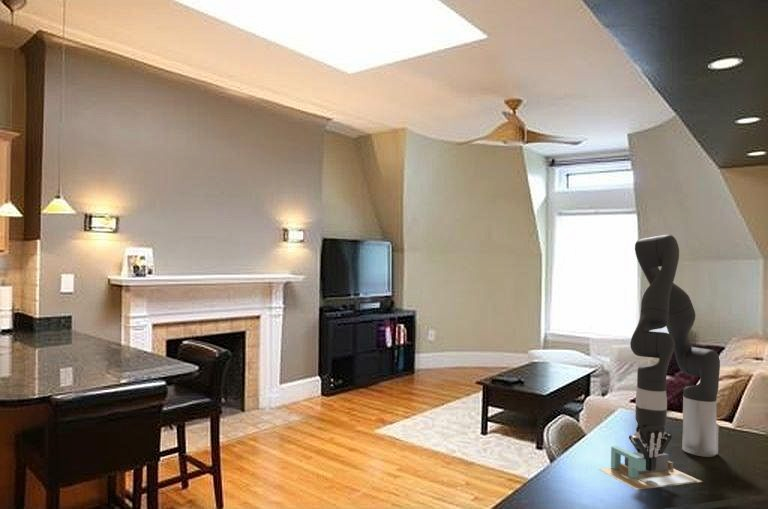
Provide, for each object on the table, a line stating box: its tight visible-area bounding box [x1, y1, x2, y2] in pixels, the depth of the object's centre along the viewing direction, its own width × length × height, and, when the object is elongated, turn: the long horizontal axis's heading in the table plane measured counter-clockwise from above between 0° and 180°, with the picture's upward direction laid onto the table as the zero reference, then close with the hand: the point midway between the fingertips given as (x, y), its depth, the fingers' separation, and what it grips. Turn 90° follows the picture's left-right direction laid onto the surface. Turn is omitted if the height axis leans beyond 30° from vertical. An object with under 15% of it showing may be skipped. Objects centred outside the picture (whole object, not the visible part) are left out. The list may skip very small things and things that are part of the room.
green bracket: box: [610, 445, 646, 478], centre depth 144 cm, size 2×10×6 cm, turn 18°
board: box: [598, 460, 703, 491], centre depth 144 cm, size 22×14×3 cm, turn 108°
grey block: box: [624, 452, 669, 474], centre depth 147 cm, size 12×4×4 cm, turn 108°
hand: (649, 469), depth 141 cm, fingers closed
